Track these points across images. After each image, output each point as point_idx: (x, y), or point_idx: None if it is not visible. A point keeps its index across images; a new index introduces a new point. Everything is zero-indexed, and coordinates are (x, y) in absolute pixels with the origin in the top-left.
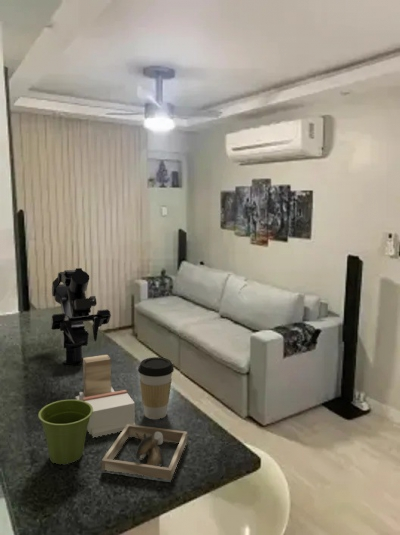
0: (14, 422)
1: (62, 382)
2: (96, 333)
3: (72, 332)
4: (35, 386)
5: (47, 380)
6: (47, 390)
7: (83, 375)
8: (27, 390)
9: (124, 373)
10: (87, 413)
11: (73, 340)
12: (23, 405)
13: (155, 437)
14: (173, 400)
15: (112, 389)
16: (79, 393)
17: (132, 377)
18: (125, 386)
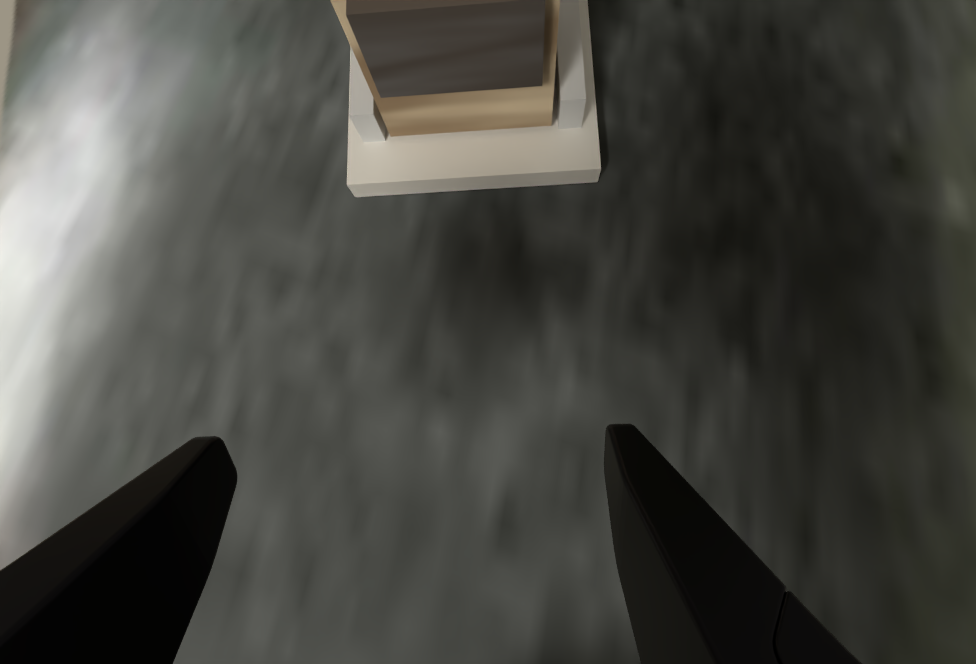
0: (969, 30)
1: None
2: (88, 523)
3: (710, 598)
4: (882, 521)
5: None
6: (782, 405)
7: (559, 1)
8: (942, 464)
9: None
10: None
11: (650, 446)
12: (942, 222)
13: None
14: (71, 5)
15: (357, 71)
16: (584, 94)
17: (136, 403)
18: (239, 270)
